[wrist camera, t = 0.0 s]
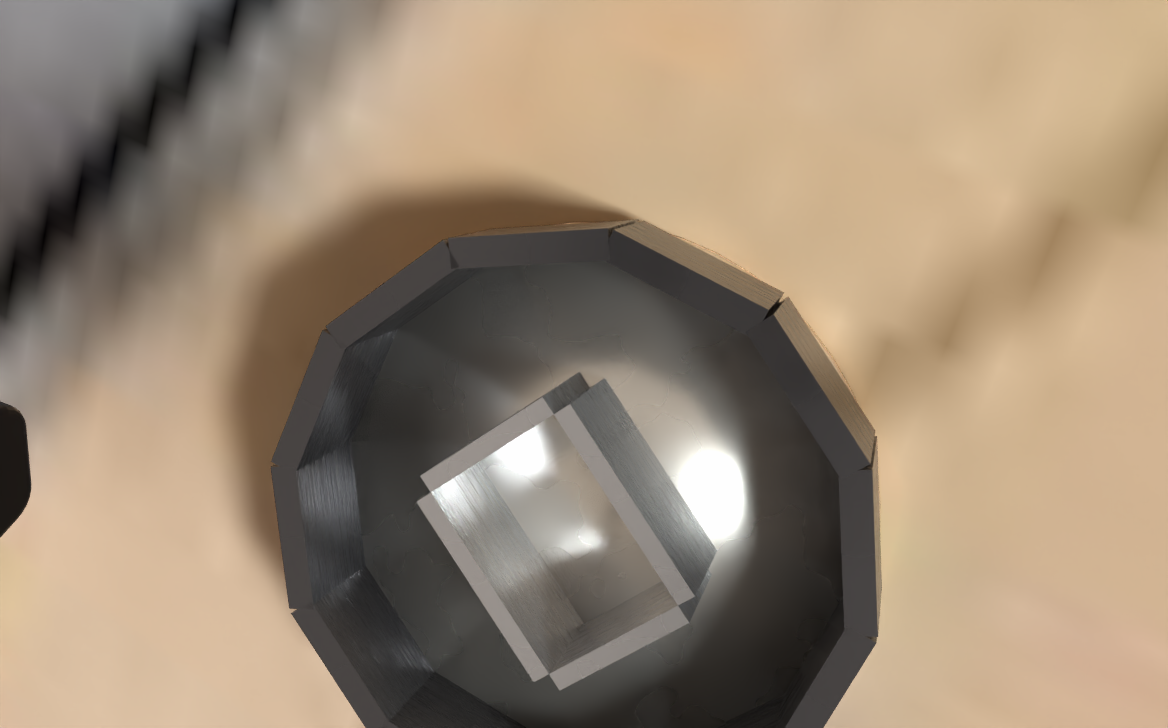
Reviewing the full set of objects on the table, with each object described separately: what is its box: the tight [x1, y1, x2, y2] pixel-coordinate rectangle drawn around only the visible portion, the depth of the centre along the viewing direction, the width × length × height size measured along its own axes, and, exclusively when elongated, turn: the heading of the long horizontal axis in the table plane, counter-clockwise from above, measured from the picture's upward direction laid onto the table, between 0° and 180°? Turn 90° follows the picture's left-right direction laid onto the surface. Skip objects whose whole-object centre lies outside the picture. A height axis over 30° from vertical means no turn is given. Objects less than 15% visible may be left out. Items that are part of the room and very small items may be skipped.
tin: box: [271, 220, 882, 728], centre depth 23 cm, size 12×12×3 cm
